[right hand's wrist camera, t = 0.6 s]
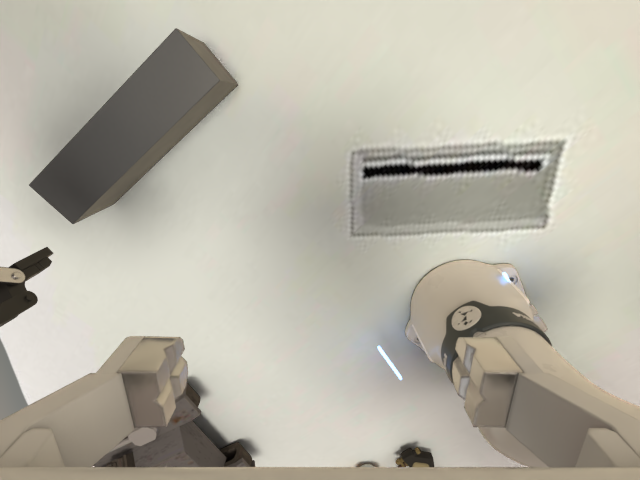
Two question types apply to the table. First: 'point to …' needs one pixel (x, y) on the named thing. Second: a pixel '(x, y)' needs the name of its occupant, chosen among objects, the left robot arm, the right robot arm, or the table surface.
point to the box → (135, 127)
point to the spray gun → (412, 459)
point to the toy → (175, 443)
